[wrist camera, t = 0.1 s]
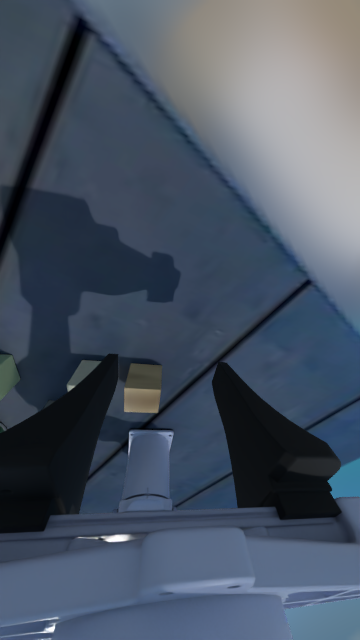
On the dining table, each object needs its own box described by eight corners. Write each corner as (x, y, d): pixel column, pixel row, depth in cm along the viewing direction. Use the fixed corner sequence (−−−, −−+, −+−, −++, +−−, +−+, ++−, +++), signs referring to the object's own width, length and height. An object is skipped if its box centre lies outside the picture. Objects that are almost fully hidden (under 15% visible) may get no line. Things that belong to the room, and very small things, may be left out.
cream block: (115, 384, 27) (107, 411, 23) (85, 382, 26) (71, 410, 22) (115, 362, 25) (106, 387, 21) (82, 359, 24) (66, 385, 20)
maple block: (158, 386, 28) (157, 413, 24) (130, 385, 27) (124, 411, 23) (161, 365, 26) (161, 390, 22) (130, 363, 25) (124, 388, 21)
